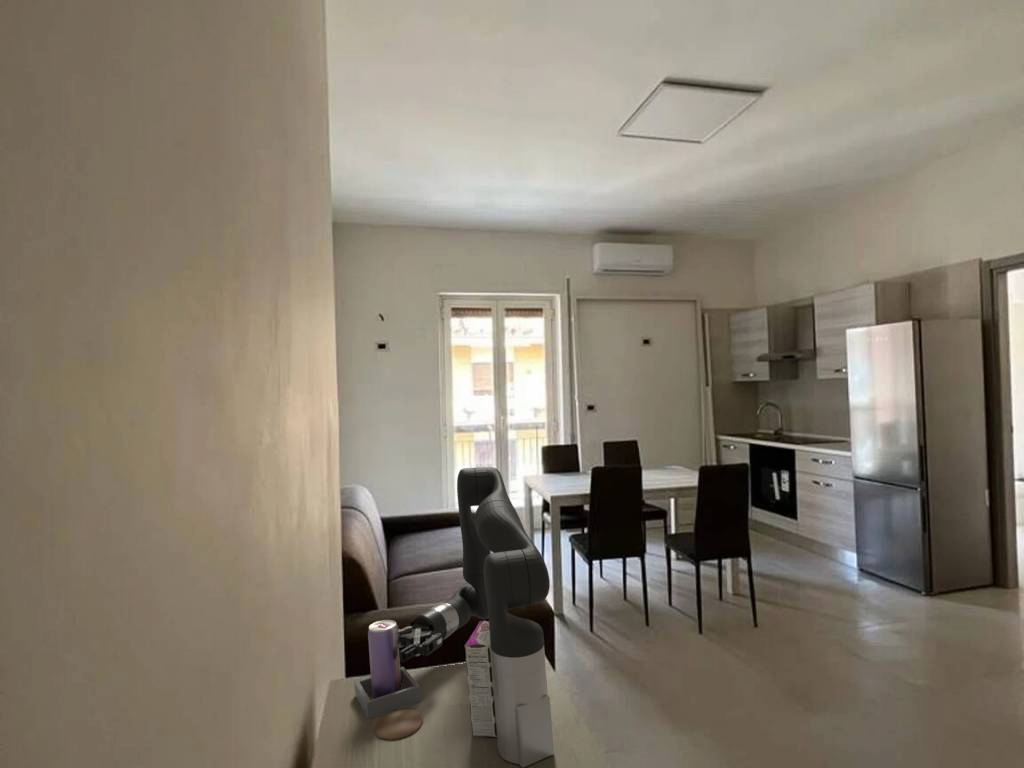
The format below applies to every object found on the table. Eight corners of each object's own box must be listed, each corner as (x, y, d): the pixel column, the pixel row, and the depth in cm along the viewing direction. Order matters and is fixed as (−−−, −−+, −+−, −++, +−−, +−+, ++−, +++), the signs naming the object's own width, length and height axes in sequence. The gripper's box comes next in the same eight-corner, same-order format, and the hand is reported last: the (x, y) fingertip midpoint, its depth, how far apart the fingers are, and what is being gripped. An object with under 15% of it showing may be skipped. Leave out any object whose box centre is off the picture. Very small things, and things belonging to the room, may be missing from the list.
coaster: (429, 728, 104) (429, 725, 104) (381, 745, 99) (381, 742, 100) (413, 706, 112) (413, 704, 112) (368, 722, 107) (368, 719, 107)
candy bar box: (485, 703, 111) (479, 619, 111) (510, 704, 110) (504, 620, 110) (470, 737, 100) (463, 644, 101) (497, 739, 99) (490, 644, 100)
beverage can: (386, 709, 112) (381, 632, 112) (366, 702, 115) (361, 628, 115) (408, 695, 117) (403, 622, 117) (387, 688, 120) (383, 617, 120)
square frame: (420, 701, 114) (419, 686, 114) (368, 718, 109) (367, 703, 109) (404, 680, 123) (403, 666, 123) (355, 695, 118) (354, 681, 118)
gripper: (411, 604, 134) (359, 630, 120) (458, 612, 126) (410, 641, 113) (413, 636, 134) (362, 666, 120) (461, 646, 126) (412, 679, 112)
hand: (385, 654), depth 116 cm, fingers open, 8 cm apart
